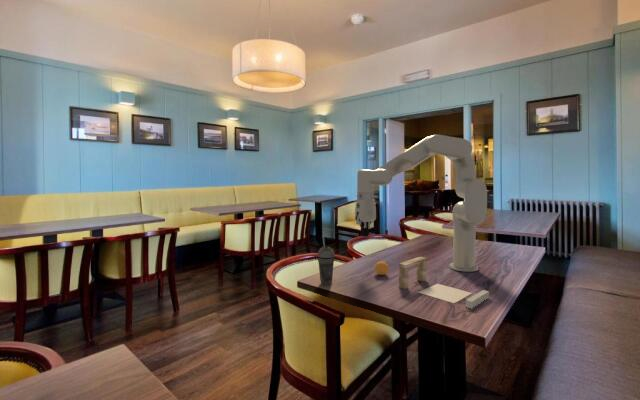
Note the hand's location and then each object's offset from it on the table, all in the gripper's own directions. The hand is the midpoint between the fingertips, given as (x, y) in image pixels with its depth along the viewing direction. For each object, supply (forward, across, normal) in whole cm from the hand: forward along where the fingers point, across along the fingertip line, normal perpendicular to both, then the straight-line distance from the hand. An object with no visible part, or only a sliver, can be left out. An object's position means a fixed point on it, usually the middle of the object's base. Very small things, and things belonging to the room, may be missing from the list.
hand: (364, 235), depth 152 cm
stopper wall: (+16, 0, -52) cm, 54 cm away
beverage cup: (+17, -26, -2) cm, 31 cm away
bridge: (+16, 0, -26) cm, 30 cm away
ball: (+13, 0, -10) cm, 16 cm away
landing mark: (+16, 0, -40) cm, 43 cm away
